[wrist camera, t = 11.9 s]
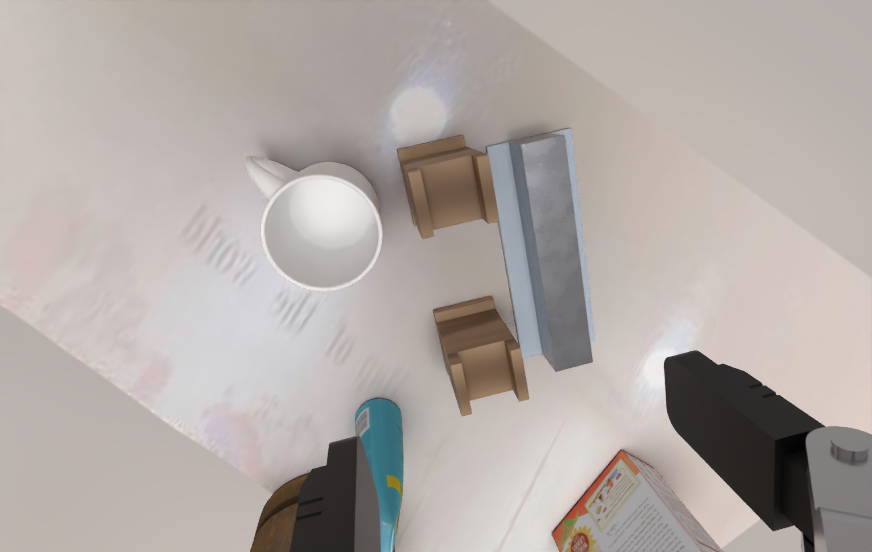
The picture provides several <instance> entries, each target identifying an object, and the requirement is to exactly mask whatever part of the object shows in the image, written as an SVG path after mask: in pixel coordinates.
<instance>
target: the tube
mask: <svg viewBox="0 0 872 552" xmlns="http://www.w3.org/2000/svg"><path fill="white" fill-rule="evenodd" d="M355 428H356V436H360V438H361V440H362V443H363V447H364V450H365V453H366V456H367V460H368V463H369V466H370V470H371V473H372V476H373V479H374V483H375V486H376V490H377V495H378V501H379V510H380V538H381V552H393V548H394V543H395V537H396V532H397V526H398V520H399V514H400V507H401V502H402V493H403V432H402V418H401V412H400V410H399V408H398V407H397V406H396V404H394V403H393V402H391V401H389V400H386V399H381V398H380V399H373V400H370V401H367V402H366V403H364V404H363V405H362V406H361V407H360V408H359V410H358V412H357V414H356V418H355Z"/></svg>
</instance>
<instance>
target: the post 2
mask: <svg viewBox="0 0 872 552" xmlns="http://www.w3.org/2000/svg"><path fill="white" fill-rule="evenodd" d="M433 312H434V316H435V321H436V325H437V330H438V334H439V339H440V343H441V348H442V352H443V356H444V361H445V365H446V370H447V373H448V375H449V377H450V380H451V383H452V387H453V390H454V393H455V396H456V399H457V402H458V406H459V409H460V412H461V415H462V416H466V415H469V414H472V411H471V406H470V402H469V401H470V400H474V399H478V398H482V397H486V396H490V395H494V394H498V393H502V392H506V391H510V390H513V391H514V393H515V395H516V396H517V398H518V400H519V402H520V401H524V400H528V399H529V394H528V388H527V382H526V376H525V370H524V364H523V358H522V352H521V348H520V346H519V345H518V343H517V342H516V340H515V339H514V337H513V335H512V334H511V332H510V331H509V329H508V328H507V326H506V325H505V323H504V322H503V320H502V319H501V317H500V316H499V314H498V313H497V311H496V310H495V307H494V301H493V298H492V297H491V296H488V297H484V298H480V299H476V300H472V301H468V302H464V303H460V304H455V305H451V306H447V307H443V308H439V309H435V310H433Z"/></svg>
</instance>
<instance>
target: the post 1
mask: <svg viewBox="0 0 872 552" xmlns="http://www.w3.org/2000/svg"><path fill="white" fill-rule="evenodd" d="M397 152H398V156H399V161H400V165H401V170H402V174H403V179H404V183H405V188H406V192H407V196H408V201H409V205H410V210H411V214H412V219H413V223H414V226H417V227H418V230H419V232H420V234H421V236H422V239H425V238H429V237H433V236H434V233H433V230H435V229H439V228H443V227H448V226H452V225H456V224H460V223H465V222H469V221H473V220H478V219H482V218H483V219H484V220H485V221H486V222H487V223H488V224H489V223H493V222H497V221H500V220H499V214H498V208H497V202H496V196H495V190H494V184H493V178H492V172H491V166H490V160H489V155H488V154H485V153H482V152H479V151H476V150H473V149H470V148H468V147H466V146H465V141H464V135H459V136H455V137H450V138H446V139H441V140H437V141H432V142H428V143H423V144H419V145H414V146H410V147H405V148H401V149H397Z"/></svg>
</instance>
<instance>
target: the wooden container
mask: <svg viewBox="0 0 872 552" xmlns="http://www.w3.org/2000/svg"><path fill="white" fill-rule="evenodd" d="M308 475H309V474H307V475H304V476H301V477H298V478H296V479H294V480H292V481H290V482H288V483H287V484H285V485H284V486H282V487H281V488H280V489H278V490H277V491H276V492H275V493H274V494H273V495H272V496H271V498H270V499H269V500H268V501H267V503H266V504H265V506H264V508H263V511H262V513H261V516H260V519H259V523H258V526H257V530H256V533H255V537H254V541H253V544H252V548H251V551H250V552H290V546H291V541H292V535H293V529H294V523H295V522H296V512H297V507H298V500H299V495H300V489H301V485H302V484H303V482H304V481H305V479H306V478H307V476H308ZM393 552H395V549H394V548H393Z"/></svg>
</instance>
